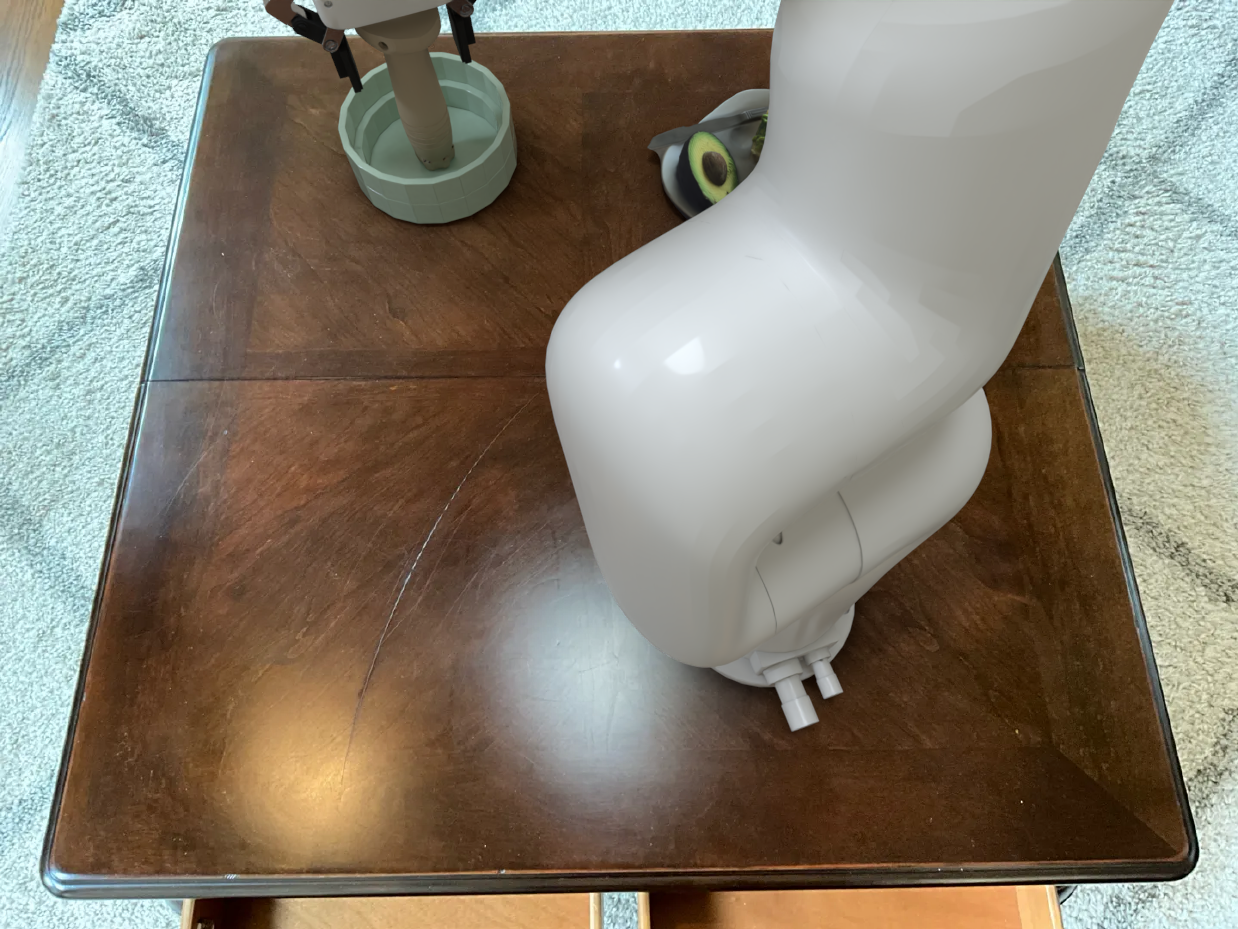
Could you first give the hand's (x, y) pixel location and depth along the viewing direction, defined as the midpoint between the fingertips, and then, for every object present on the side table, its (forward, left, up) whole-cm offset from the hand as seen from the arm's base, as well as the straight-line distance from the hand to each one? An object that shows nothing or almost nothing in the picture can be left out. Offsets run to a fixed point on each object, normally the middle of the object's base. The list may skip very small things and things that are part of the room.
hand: (409, 64), depth 68 cm
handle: (0, 0, -10) cm, 10 cm away
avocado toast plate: (-12, -26, -11) cm, 31 cm away
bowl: (0, 0, -11) cm, 11 cm away
